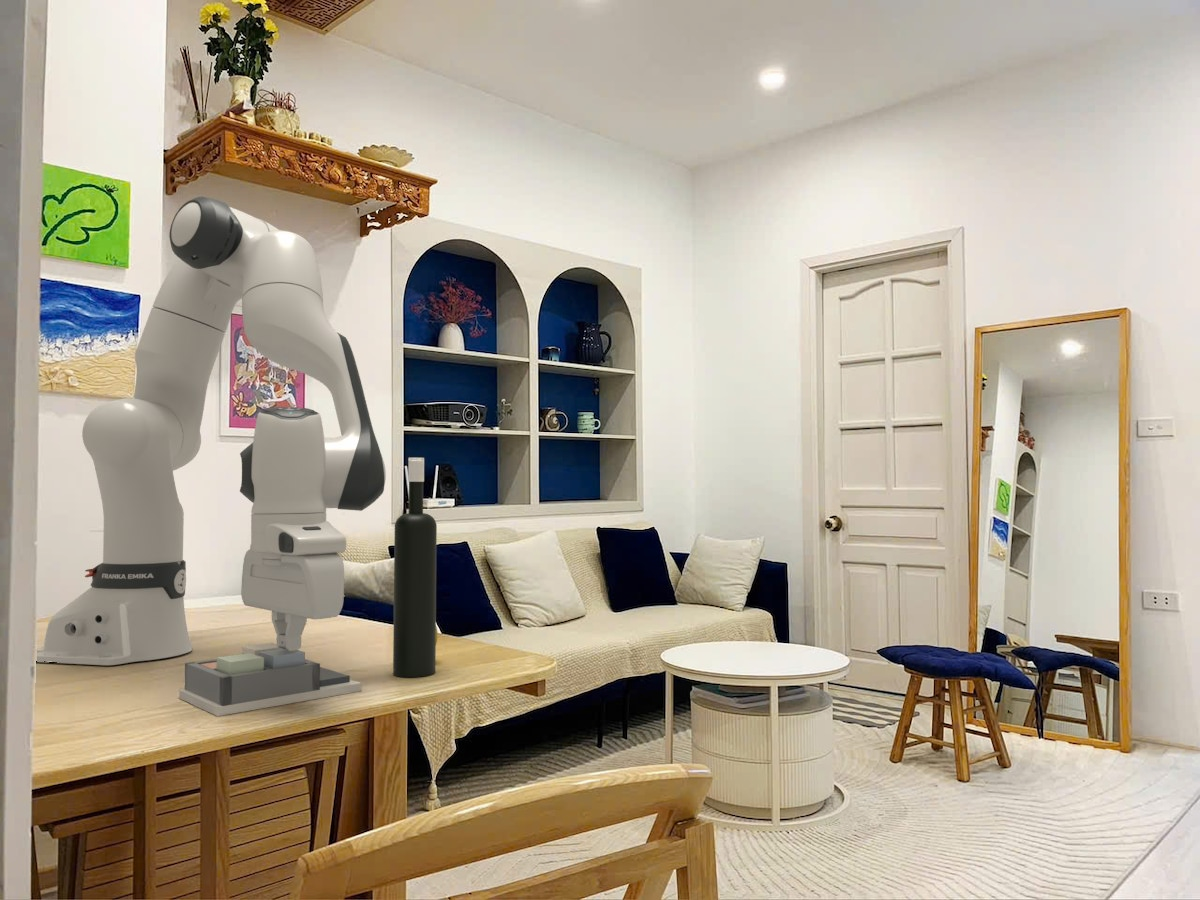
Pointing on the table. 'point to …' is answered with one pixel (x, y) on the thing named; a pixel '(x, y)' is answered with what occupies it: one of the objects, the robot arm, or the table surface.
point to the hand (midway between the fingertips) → (288, 648)
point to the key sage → (240, 664)
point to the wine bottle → (415, 584)
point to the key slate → (282, 658)
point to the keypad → (260, 687)
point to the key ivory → (259, 648)
